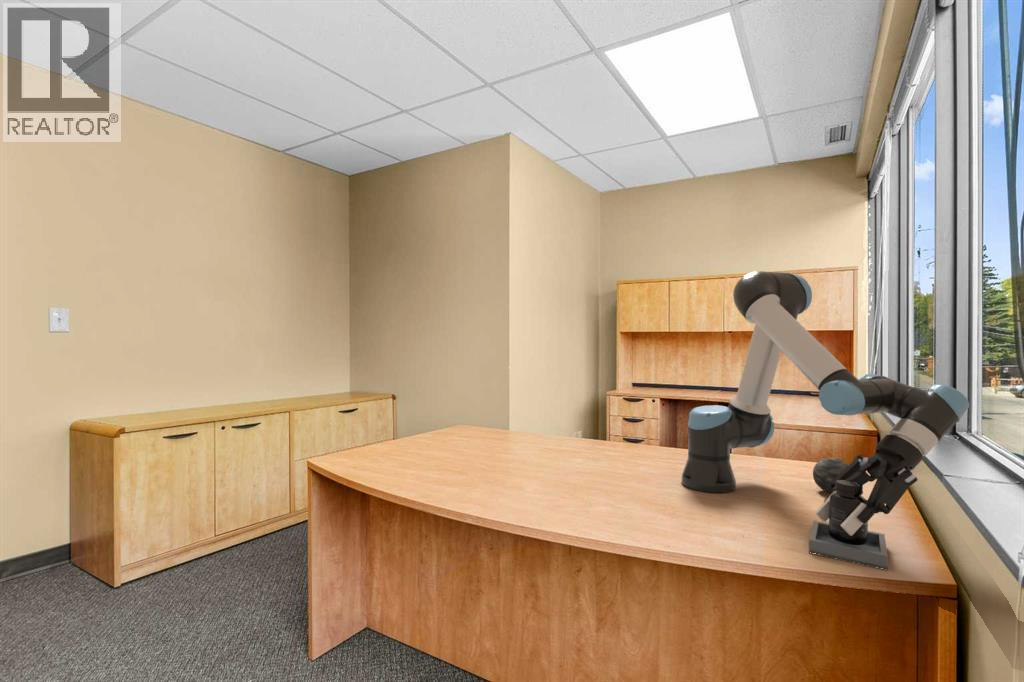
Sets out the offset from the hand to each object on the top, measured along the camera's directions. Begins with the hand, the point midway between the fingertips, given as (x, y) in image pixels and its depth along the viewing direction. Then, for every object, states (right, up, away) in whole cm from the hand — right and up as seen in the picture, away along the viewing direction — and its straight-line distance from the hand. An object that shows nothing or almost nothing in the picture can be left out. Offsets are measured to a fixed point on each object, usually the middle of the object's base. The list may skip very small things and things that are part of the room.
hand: (832, 523), depth 105 cm
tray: (+3, -6, 0) cm, 7 cm away
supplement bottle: (+3, -4, 0) cm, 5 cm away
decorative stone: (+25, -6, +39) cm, 47 cm away
